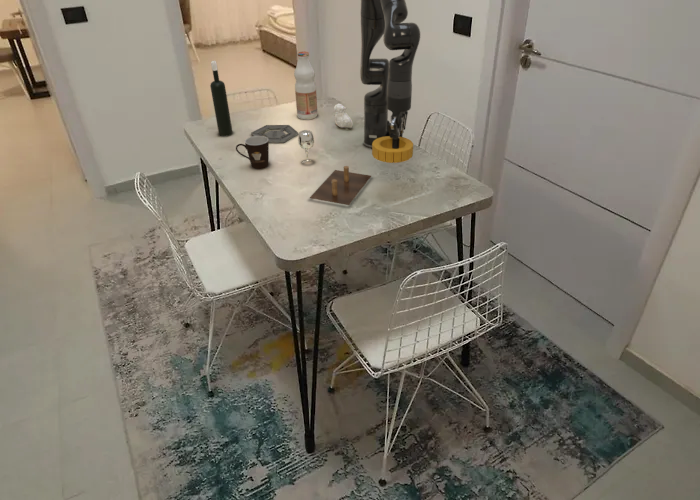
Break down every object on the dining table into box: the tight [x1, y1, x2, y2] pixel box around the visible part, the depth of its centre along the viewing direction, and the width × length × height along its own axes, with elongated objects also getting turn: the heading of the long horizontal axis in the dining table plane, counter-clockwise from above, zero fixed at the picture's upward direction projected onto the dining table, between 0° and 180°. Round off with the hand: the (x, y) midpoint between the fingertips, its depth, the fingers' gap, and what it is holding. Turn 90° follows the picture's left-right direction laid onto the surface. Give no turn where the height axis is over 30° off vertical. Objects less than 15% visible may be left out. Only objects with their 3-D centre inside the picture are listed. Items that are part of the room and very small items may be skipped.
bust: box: [333, 103, 354, 129], centre depth 212 cm, size 12×8×11 cm
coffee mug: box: [235, 135, 270, 170], centre depth 182 cm, size 12×9×10 cm
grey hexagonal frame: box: [250, 124, 299, 144], centre depth 208 cm, size 17×20×1 cm
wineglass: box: [297, 129, 315, 164], centre depth 182 cm, size 6×6×12 cm
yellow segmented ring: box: [371, 136, 414, 164], centre depth 156 cm, size 13×13×4 cm
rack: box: [309, 165, 372, 206], centre depth 167 cm, size 22×14×6 cm, turn 159°
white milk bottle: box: [293, 51, 318, 120], centre depth 218 cm, size 9×9×28 cm
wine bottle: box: [209, 60, 234, 137], centre depth 202 cm, size 6×6×30 cm
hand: (397, 146), depth 161 cm, fingers closed on yellow segmented ring, 2 cm apart
